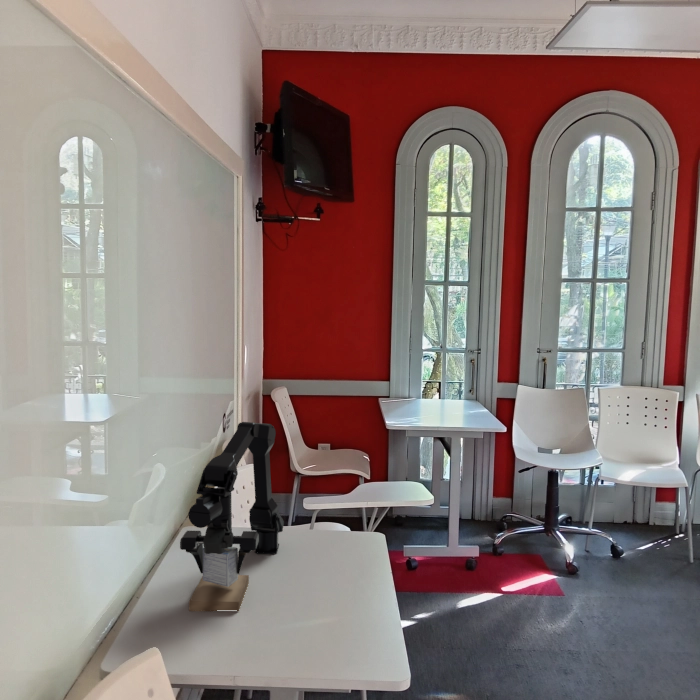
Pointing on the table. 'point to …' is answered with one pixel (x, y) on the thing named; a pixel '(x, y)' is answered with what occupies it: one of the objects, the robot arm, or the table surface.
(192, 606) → the flat brown cardboard box
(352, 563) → the table surface
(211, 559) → the medicine box
